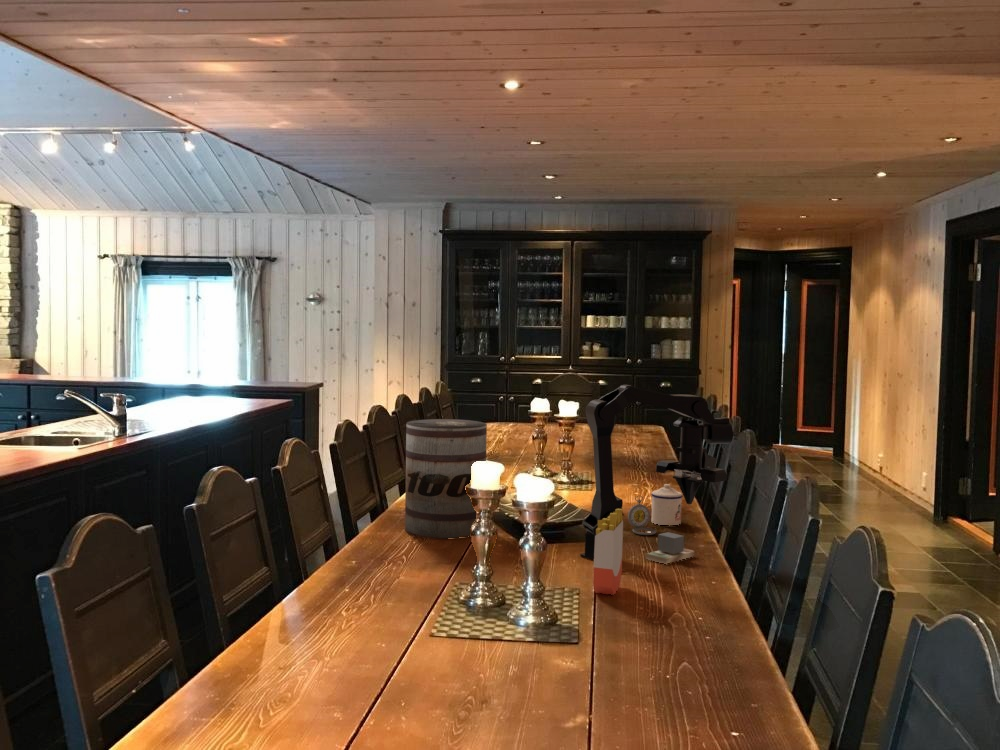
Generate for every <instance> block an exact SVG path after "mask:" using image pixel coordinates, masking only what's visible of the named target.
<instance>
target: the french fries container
mask: <svg viewBox="0 0 1000 750" xmlns="http://www.w3.org/2000/svg"><path fill="white" fill-rule="evenodd" d="M622 511H624V510H623V508H622V509H615V512H613V513H610V516H608V517H607V518H603V519H602V520H598V528H597V529H596V536H595V549H594V560H593V577H592V578H593V579H592V586H593V590H594V592H595V594H600V593H602V594H601V595H608V594H611V596H615V595H616V593H617V592H618V590H619V589H618V588H620V585H621V578H622V572H623V571H622V569H623V541H624V540H623V537H624V536H623V535H624V520H623V516H622ZM602 521H603V522H602ZM616 591H617V592H616ZM614 594H615V595H614Z"/></svg>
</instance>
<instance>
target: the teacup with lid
mask: <svg viewBox="0 0 1000 750" xmlns="http://www.w3.org/2000/svg"><path fill="white" fill-rule="evenodd" d="M651 497H652V498H651V517H650V518H651V521H650V522H651V523H652V524H653V523H654V525H656V524H658V525H657V526H660V525H669V526H668V527H671V526H670V525H678V526H680V525H681V524H682V503H683V502H682V500H683V499H682V498H684V496H683V493H682V491H681V492H680V491H678V490H676V489H675V488H674V487H672V486H671V484H669V483H664V485H663V486H662V487H660V488H659V489H655V490H653V491H652V492H651ZM679 524H680V525H679Z"/></svg>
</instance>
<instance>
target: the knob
mask: <svg viewBox="0 0 1000 750" xmlns="http://www.w3.org/2000/svg"><path fill="white" fill-rule="evenodd" d="M684 544H685V536H684V535H680V534H678V533H673V532H669V531H667V532H663V533H659V534H657V551H659V550H660V551H663V552H667V553H671V554H676V553H680V552H683V550H684V548H685V545H684Z"/></svg>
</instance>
